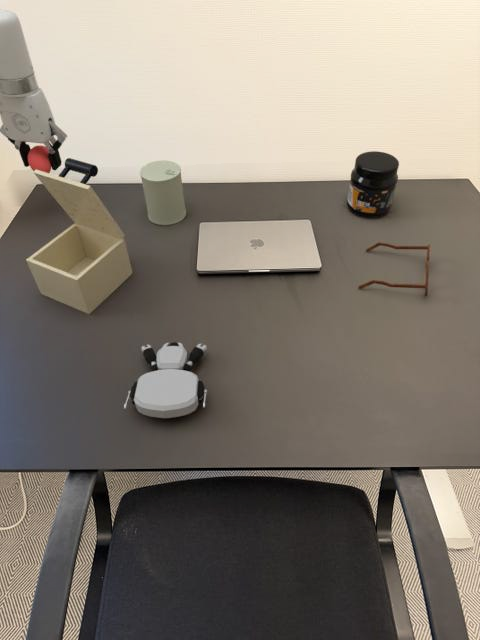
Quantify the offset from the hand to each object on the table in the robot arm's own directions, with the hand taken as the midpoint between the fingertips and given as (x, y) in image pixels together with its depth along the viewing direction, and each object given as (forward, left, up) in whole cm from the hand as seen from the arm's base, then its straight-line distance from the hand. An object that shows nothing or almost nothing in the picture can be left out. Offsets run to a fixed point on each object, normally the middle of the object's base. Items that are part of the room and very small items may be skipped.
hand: (43, 165), depth 108 cm
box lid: (+21, -21, +5) cm, 30 cm away
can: (+28, +2, -12) cm, 30 cm away
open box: (+20, -25, -11) cm, 34 cm away
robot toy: (+45, -46, -12) cm, 65 cm away
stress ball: (0, 0, -1) cm, 1 cm away
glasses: (+81, -10, -12) cm, 82 cm away
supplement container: (+75, +14, -12) cm, 77 cm away
